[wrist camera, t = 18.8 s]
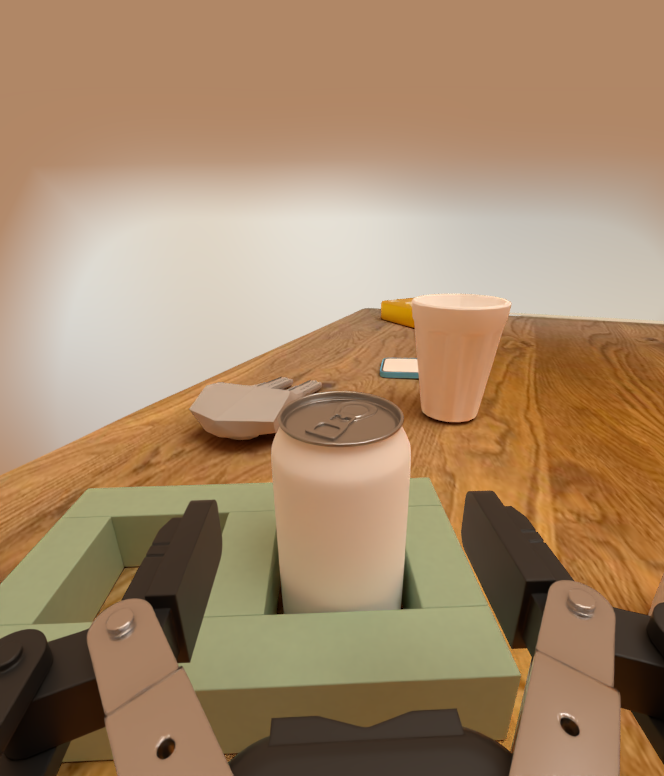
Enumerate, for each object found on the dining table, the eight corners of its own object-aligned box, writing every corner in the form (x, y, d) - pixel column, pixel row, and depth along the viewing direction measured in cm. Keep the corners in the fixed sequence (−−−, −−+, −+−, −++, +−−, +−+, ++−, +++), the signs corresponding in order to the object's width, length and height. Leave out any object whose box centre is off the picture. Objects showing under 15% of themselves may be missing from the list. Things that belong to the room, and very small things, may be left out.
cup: (398, 426, 43) (404, 305, 38) (411, 393, 52) (417, 292, 47) (496, 439, 40) (516, 310, 35) (492, 402, 49) (508, 295, 44)
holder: (506, 740, 16) (521, 675, 15) (-69, 769, 15) (-112, 704, 14) (425, 524, 28) (429, 477, 27) (101, 535, 28) (87, 487, 26)
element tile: (465, 322, 93) (467, 301, 92) (416, 329, 87) (417, 307, 85) (423, 312, 106) (424, 294, 104) (377, 318, 99) (378, 299, 97)
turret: (335, 405, 54) (336, 371, 52) (263, 458, 35) (263, 406, 34) (269, 397, 57) (269, 364, 56) (171, 441, 38) (169, 394, 37)
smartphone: (383, 357, 64) (479, 359, 61) (383, 364, 65) (478, 366, 62) (379, 372, 57) (487, 374, 54) (379, 379, 58) (486, 382, 55)
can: (418, 593, 23) (434, 403, 18) (366, 696, 18) (372, 467, 13) (325, 549, 26) (320, 380, 22) (258, 626, 21) (236, 424, 17)
